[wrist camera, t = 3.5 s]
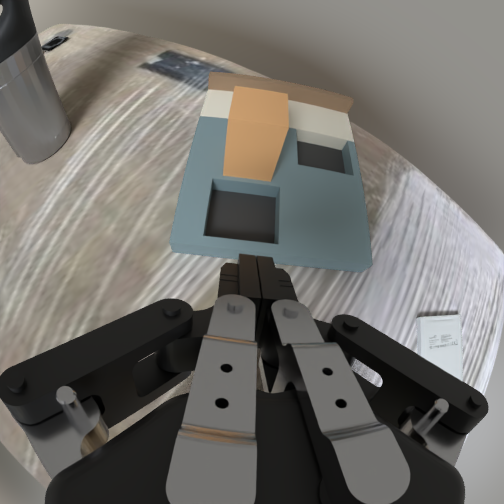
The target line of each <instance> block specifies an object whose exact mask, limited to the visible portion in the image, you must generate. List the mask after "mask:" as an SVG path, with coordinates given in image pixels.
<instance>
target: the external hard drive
mask: <svg viewBox="0 0 504 504" xmlns="http://www.w3.org/2000/svg"><path fill="white" fill-rule="evenodd" d="M416 324H417V354H418V355H420V356H421V357H423V358H425V359H426V360H428V361H429V362H431V363H433V364H434V365H436V366H438V367H439V368H441V369H443V370H444V371H446V372H448V373H449V374H451V375H453V376H454V377H456V378H458V379H459V380H461V381H463V348H462V328H461V315H460V314H458V315H444V316H424V317H418V318H416Z"/></svg>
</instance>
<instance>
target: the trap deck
mask: <svg viewBox="0 0 504 504" xmlns="http://www.w3.org/2000/svg"><path fill="white" fill-rule="evenodd" d="M235 86H240V87H248V88H255V89H262V90H268V91H274V92H280V93H286V94H288V113H289V129H288V132H287V135H286V138H285V141H284V144H283V147H282V150H281V153H280V156H279V159H278V161H277V164H276V167H275V170H274V173H273V176H272V179H271V182H269V181H262V180H255V179H247V178H239V177H231V176H223V167H224V156H225V145H226V135H227V125H228V117H229V112H230V107H231V102H232V97H233V92H234V87H235ZM352 104H353V98H351V97H348V96H345V95H341V94H337V93H334V92H330V91H326V90H322V89H318V88H314V87H310V86H305V85H301V84H296V83H291V82H286V81H280V80H275V79H269V78H263V77H256V76H248V75H240V74H231V73H221V72H210V74H209V85H208V92H207V95H206V98H205V101H204V105H203V108H202V111H201V114H200V118H199V121H198V125H197V128H196V131H195V135H194V139H193V142H192V146H191V150H190V153H189V157H188V161H187V165H186V169H185V173H184V177H183V181H182V185H181V190H180V194H179V198H178V203H177V207H176V212H175V217H174V222H173V226H172V231H171V237H170V242H169V243H170V245H171V248H172V251H173V252H176V253H185V254H194V255H202V256H211V257H220V258H229V259H238V256H239V253H240V254H249V255H255V256H256V255H258V256H267V257H273V261H274V263H275V264H285V265H294V266H304V267H313V268H323V269H333V270H343V271H353V272H363V271H364V270H366V269H367V268H369V267H370V266H372V253H371V243H370V234H369V226H368V218H367V210H366V204H365V197H364V191H363V185H362V179H361V173H360V168H359V163H358V158H357V153H356V148H355V143H354V139H353V135H352V130H351V126H350V122H349V118H348V112H349V110H350V108H351V106H352Z"/></svg>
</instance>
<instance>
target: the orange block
mask: <svg viewBox="0 0 504 504" xmlns="http://www.w3.org/2000/svg"><path fill="white" fill-rule="evenodd" d="M288 129H289V113H288V94H286V93H280V92H274V91H268V90H262V89H255V88H248V87H240V86H235V87H234V92H233V97H232V102H231V107H230V112H229V117H228V125H227V135H226V145H225V156H224V167H223V176H231V177H239V178H247V179H255V180H262V181H269V182H271V179H272V176H273V173H274V170H275V167H276V164H277V161H278V159H279V156H280V153H281V150H282V147H283V144H284V141H285V138H286V135H287V132H288Z"/></svg>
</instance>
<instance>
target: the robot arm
mask: <svg viewBox="0 0 504 504" xmlns="http://www.w3.org/2000/svg"><path fill="white" fill-rule="evenodd" d="M0 4H1V5H2V6H3V11H2V13H1V16H0V131H1V133H2V134H3V136H4V137H5V139H6V140H7V142H8V143H9V145H10V146H11V148H12V149H13V151H14V152H15V154H16V155H17V157H21V158H22V159H23V161H24V162H26V163H29V164H34V163H38V162H41V161H43V160H45V159H47V158H48V157H50V156H51V155H53V154H54V153H55V152H56V151H57V150H58V149H59V148H60V147H61V146H62V145H63V144H64V143H65V141H66V140H67V138H68V136H69V134H70V131H71V124H70V122H69V119H68V117H67V115H66V112H65V110H64V107H63V105H62V102H61V100H60V97H59V95H58V92H57V90H56V87H55V84H54V82H53V79H52V76H51V74H50V71H49V68H48V65H47V62H46V59H45V56H44V53H43V50H42V47H41V44H40V41H39V38H38V34H37V32H36V27H35V24H34V21H33V18H32V14H31V10H30V6H29V2H28V0H0ZM257 348H260V349H261V354H260V358H259V368H260V373H261V379H262V384H263V389H264V391H259V390H256V376H257ZM154 352H155V353H154ZM152 353H153V354H152ZM150 354H152V355H150ZM149 355H150V356H149ZM147 356H148V357H147ZM145 357H146V358H145ZM143 358H145V359H143ZM141 359H143V360H141ZM355 359H357V360H359V361H360V362H362V363H363V364H365V365H366V366H368V367H369V368H371V369H372V370H374V371H375V372H377V373H378V374H379V375H380V376H381V377H382V380H383V383H382V386H381V387H377V386H375V385H373V384H372V383H370V382H369V381H367V380H366V379H364V378H363V377H361V376H360V375H359V374H357V373H356V372H354V371H353V370H351V367H352V365H353V363H354V361H355ZM140 360H141V361H140ZM138 361H139V362H138ZM191 371H195V372H194V376H193V380H192V384H191V389H190V393H186V394H182V395H179V396H176V397H174V398H171V399H170V400H168V401H166V402H164V403H163V404H161V405H160V406H158V407H157V408H156V409H154V410H153V411H152V412H150V413H149V414H147V415H146V416H145V417H143V418H142V419H140V420H139V421H138V422H136V423H135V424H133V425H132V426H130V427H129V428H127V429H126V430H125V431H123V432H122V433H120V434H119V435H117V436H116V437H114V438H113V439H111V440H110V441H108V442H107V440H108V437H109V430H108V429H109V428H111V427H112V426H114V425H116V424H117V423H119V422H121V421H122V420H124V419H126V418H127V417H129V416H130V415H132V414H133V413H135V412H137V411H138V410H140V409H141V408H143V407H144V406H146V405H148V404H149V403H151V402H152V401H154V400H155V399H157V398H158V397H160V396H161V395H163V394H164V393H166V392H167V391H169V390H170V389H172V388H173V387H175V386H176V385H177V384H179V383H180V382H182V381H183V380H185V379H186V378H187V377H188V376H189V375H190V374H191ZM0 398H1V400H2V401H3V403H4V404H5V405H6V407H7V408H8V410H9V411H10V412H11V415H12V416H13V418H14V419H15V421H16V422H17V423H18V424H19V426H20V427H21V428H22V429H23V430H24V432H25V433H26V435H27V437H28V439H29V441H30V443H31V445H32V447H33V449H34V450H35V452H36V454H37V456H38V458H39V459H40V461H41V463H42V464H43V466H44V468H45V469H46V471H47V472H48V474H49V476H50V477H51V479H52V481H51V482H50V484H49V486H48V488H47V491H46V495H45V504H464V500H465V486H464V482H463V479H462V477H461V475H460V473H459V472H458V471H457V469H456V468H455V467H454V466H455V463H456V461H457V459H458V456H459V454H460V451H461V449H462V446H463V443H464V441H465V438H466V435H467V434H468V433H469V432H470V431H471V430H472V429H473V428H474V427H475V426H476V425H477V424H478V423H479V422H480V421H481V420H482V419H483V418H484V417H485V416H486V414H487V413H488V403H487V401H486V399H485V397H484V396H483V395H482V394H481V393H480V392H479V391H477V390H476V389H474V388H473V387H471V386H469V385H468V384H466V383H464V382H463V381H461V380H459V379H458V378H456V377H454V376H453V375H451V374H449V373H448V372H446V371H444V370H443V369H441V368H439V367H438V366H436V365H434V364H433V363H431V362H429V361H428V360H426V359H425V358H423V357H421V356H420V355H418V354H416V353H415V352H413V351H411V350H410V349H408V348H406V347H405V346H403V345H401V344H400V343H398V342H396V341H395V340H393V339H392V338H390V337H388V336H387V335H385V334H383V333H382V332H380V331H378V330H377V329H375V328H373V327H372V326H370V325H368V324H367V323H365V322H364V321H362V320H360V319H358V318H357V317H354V316H351V315H345V314H342V315H337V316H335V317H334V318H333V320H332V322H331V324H330V323H326V322H322V321H318V320H315V319H313V318H312V315H311V313H310V311H309V310H308V308H307V307H306V306H305V305H303V304H301V303H299V302H298V300H297V297H296V294H295V291H294V288H293V285H292V282H291V279H290V276H289V274H288V273H287V272H286V271H285V270H283V269H279V268H275V264H274V261H273V257H267V256H258V255H256V256H255V255H249V254H240V253H239V256H238V263H237V264H234V263H225V264H224V265H223V266H222V267H221V272H220V281H219V290H218V299H217V300H216V301H215V305H214V306H212V307H211V308H208V309H205V310H200V311H193V309H192V307H191V306H190V305H189V304H188V303H186V302H185V301H182V300H179V299H163V300H160V301H157V302H155V303H153V304H151V305H148V306H146V307H144V308H142V309H140V310H137V311H135V312H133V313H131V314H129V315H126V316H124V317H122V318H120V319H117V320H115V321H113V322H111V323H109V324H106V325H104V326H102V327H100V328H97V329H95V330H93V331H91V332H89V333H86V334H84V335H82V336H80V337H77V338H75V339H73V340H71V341H68V342H66V343H64V344H62V345H59V346H57V347H55V348H53V349H51V350H48V351H46V352H44V353H42V354H39V355H37V356H35V357H32V358H30V359H28V360H26V361H23V362H21V363H19V364H17V365H14V366H12V367H10V368H8V369H7V370H5V371H4V372H3V373H2V374H1V376H0ZM106 442H107V443H106Z"/></svg>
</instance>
